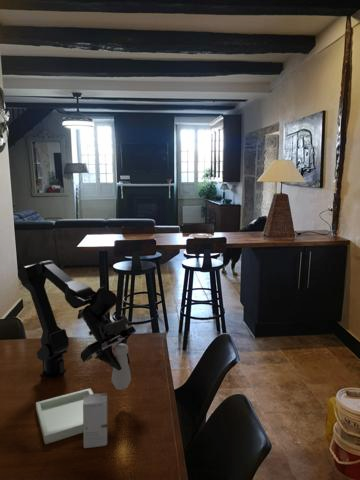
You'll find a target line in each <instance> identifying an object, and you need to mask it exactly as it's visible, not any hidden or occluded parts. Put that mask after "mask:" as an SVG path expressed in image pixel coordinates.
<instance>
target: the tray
mask: <svg viewBox="0 0 360 480" xmlns="http://www.w3.org/2000/svg"><path fill="white" fill-rule="evenodd" d="M91 394H94V392H93V390H92V389H91V387H90V388H86V389H85V388H84V389H81V390H78V391H74V392H70V393H67V394H63V395H58V396H55V397H51V398H48V399H43V400H41V401H40V400H39V401H36V402H35V410H36V414H37V418H38V422H39V427H40V430H41V434H42V438H43V442H44V445H48V444H51V443H54V442H58V441H60V440H64V439H66V438H70V437H72V436H77V435H79V434H82V433H83V398H84V397H83V396H84V395H91Z"/></svg>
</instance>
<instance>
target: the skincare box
mask: <svg viewBox="0 0 360 480" xmlns="http://www.w3.org/2000/svg"><path fill="white" fill-rule="evenodd" d="M83 397H84V398H83V435H82V436H83V448H84V449H87V448H88V449H89V448H97V447H98V448H99V447H104V446H107V445H108V393H107V392H104V393H103V392H102V393H93V394H91V395H84V396H83Z"/></svg>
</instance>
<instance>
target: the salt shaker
mask: <svg viewBox="0 0 360 480" xmlns="http://www.w3.org/2000/svg"><path fill="white" fill-rule="evenodd" d="M113 348H114V350H113V354H114V356H115V357H116V359H117V361H118V362H119V364H120V366H121V370H117V369H115V368H114V367H112V372H111V373H112V374H111V383H112V384H113V386H114V388H115V390H121V391H123V390H126V389H127V388H129V387H128V386H129V385H130V383H131V381H132V376H131V374H132V373H131V370H130V364H129V365H128V359H127V353H128V354H129V346H128V345H127V343H126V344H122V343H121V344H117V345H116V346H113Z"/></svg>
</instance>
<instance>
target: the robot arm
mask: <svg viewBox="0 0 360 480" xmlns="http://www.w3.org/2000/svg"><path fill="white" fill-rule="evenodd" d="M17 277H18V279H19V280H20V283H21V286H22V287H24V288H25V289H26V290H27V291H28V292H29V293H30V296H31V299H32V301H33V305H34V309H35V312H36V315H37V318H38V320H39V323H40V326H41V331H42V334H41V338H40V344H41V345H40V346H41V347H40V348H39V349H38V351H36V356H37V359H38V360H40V361H42V371H41V372H40V373H39V375H40V376H42V377H48V378H52V379H56V378H58V377H59V376H60V375H61V374H63V372H65V371H66V370H67V367H65V359H64V355H65V354H66V353H68V348H69V345H70V342H69V340H70V339H69V337H68V334H67V331H66V329H65V328H61V327H59V326H58V323H57V320H56V317H55V315H54V314H55V313H54V311H53V309H52V306H51V303H50V299H49V296H48V294H47V290H46V281H47V280H48V281H50V283H52V285H54V286H55V287H57V289H59V290H60V291H61V292H62V294H63V295H64V300H65V301H66V302H67V303H68V305H69V306H70V307H71V308H73V309H75V310H76V309H79V308H82V307H84V306H85V307H84V308H82V309H79V310H78V315H77V320H81V319H83V321H84V323H85V324H86V326H87V327H88V329H89V331H88V334H89V336H93V338H94V339H95V341H94V342H93V343H90V344H88V345H87V346H85V348H84V349H83V350H82V351H81V352H80V359H81V360H82V362H83V363H86V362H87V361H90V360H92V357H93V355H94V354H96V356H95V357H94V359H95V360H100V361H102V362H104V363H105V364H107V365H109V366H111V367H112V368H113V367H114V368H115V369H117V370H121V366H120V364H119V362H118V361H117V359H116V357H115V356H116V355H115V354H114V347H115V346H116V345H117V344H121V343H122V344H126V345H127V344H128V343H127V342H128V340H129V338H131V336H133V335H135V334H136V332H137V330H136V328H135V327H134V325H132V324H130V325H129V323H130V322H129V320H128V318H127V316H126V314H121V315H119V316H117V317H116V318H117V319H116V320H115V321H112V319H111V318H106V316H105V315H107V314H108V313H109V312H110V311H111V310H112V309H113V308H114V307H115V306H116V305H117V304H118V296H117V295H116V293H114V291H112V290H109V289H107V288H106V287H105V286H102V287H101V286H100V287H99V288H98V289H97V291H96V290H94V289H93V288H92V287H90V286H89V285H87V284H85V283H84V282H79V281H76V280H74V279H73V278H71V276H69V275H68V274H67V273H65V271H63V269H61V268H59V267H58V266H57V265H56V264H55V262H54V261H53V260H49V259H48V260H43V261H39V262H37V263H32V264H31V263H30V264H27V265H23V266H20V267H19V270H18V271H17ZM127 359H128V365H129V366H130V364H131V361H130V357H129V352H128V353H127Z"/></svg>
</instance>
